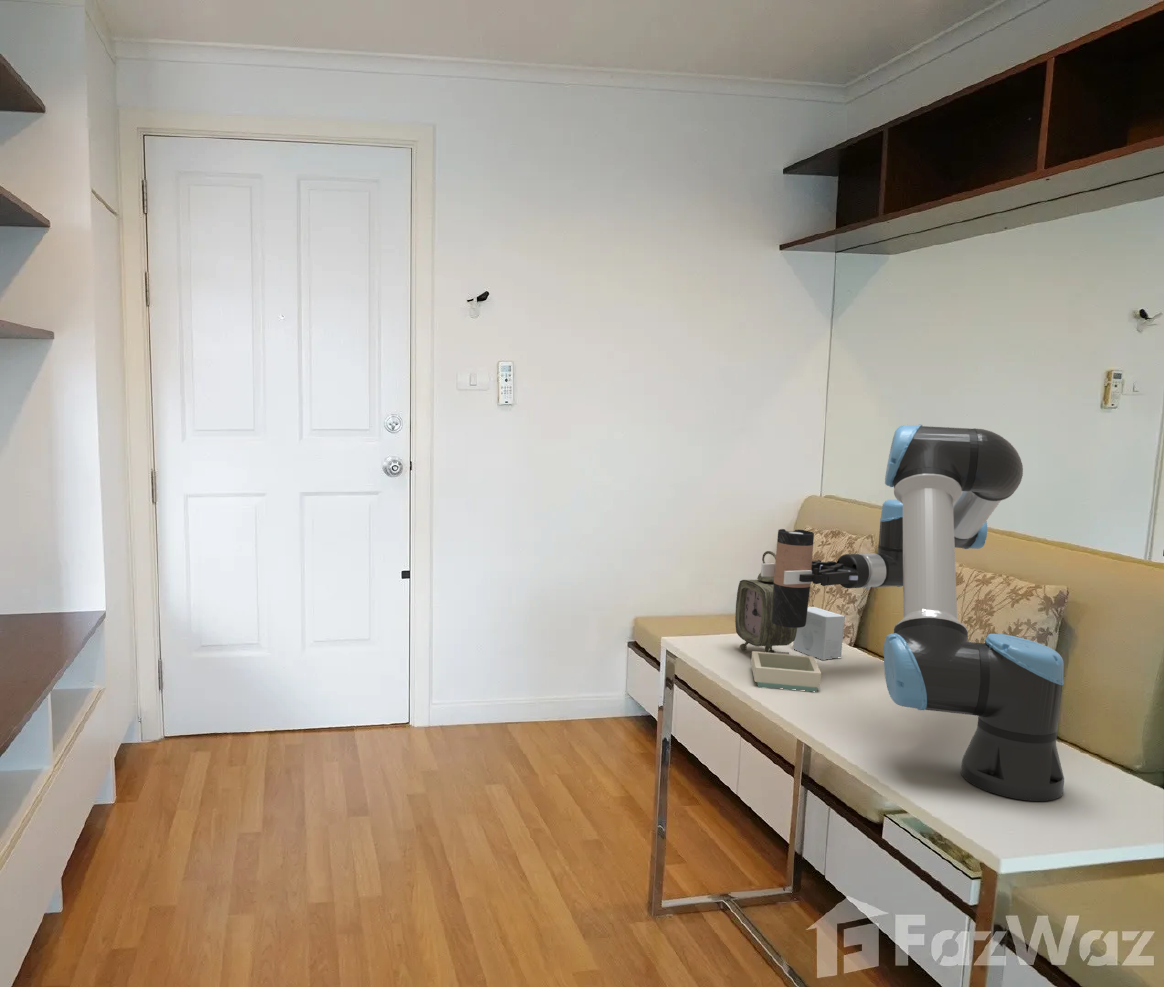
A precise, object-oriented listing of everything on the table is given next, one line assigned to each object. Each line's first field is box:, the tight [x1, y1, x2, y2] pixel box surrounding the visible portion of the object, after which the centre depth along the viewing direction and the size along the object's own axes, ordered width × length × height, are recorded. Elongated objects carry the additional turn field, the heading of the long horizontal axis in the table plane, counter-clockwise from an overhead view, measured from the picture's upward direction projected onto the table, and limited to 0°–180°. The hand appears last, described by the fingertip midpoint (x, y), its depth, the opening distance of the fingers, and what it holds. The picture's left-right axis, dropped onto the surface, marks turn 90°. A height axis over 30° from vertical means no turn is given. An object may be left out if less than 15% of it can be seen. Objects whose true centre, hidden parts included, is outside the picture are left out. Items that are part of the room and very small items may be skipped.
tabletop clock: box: [734, 550, 797, 653], centre depth 220 cm, size 14×9×25 cm, turn 17°
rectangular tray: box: [750, 650, 822, 693], centre depth 204 cm, size 18×13×4 cm
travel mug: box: [772, 528, 815, 628], centre depth 201 cm, size 8×8×20 cm
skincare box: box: [792, 606, 846, 661], centre depth 226 cm, size 10×6×10 cm, turn 29°
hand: (773, 573), depth 199 cm, fingers closed on travel mug, 7 cm apart
